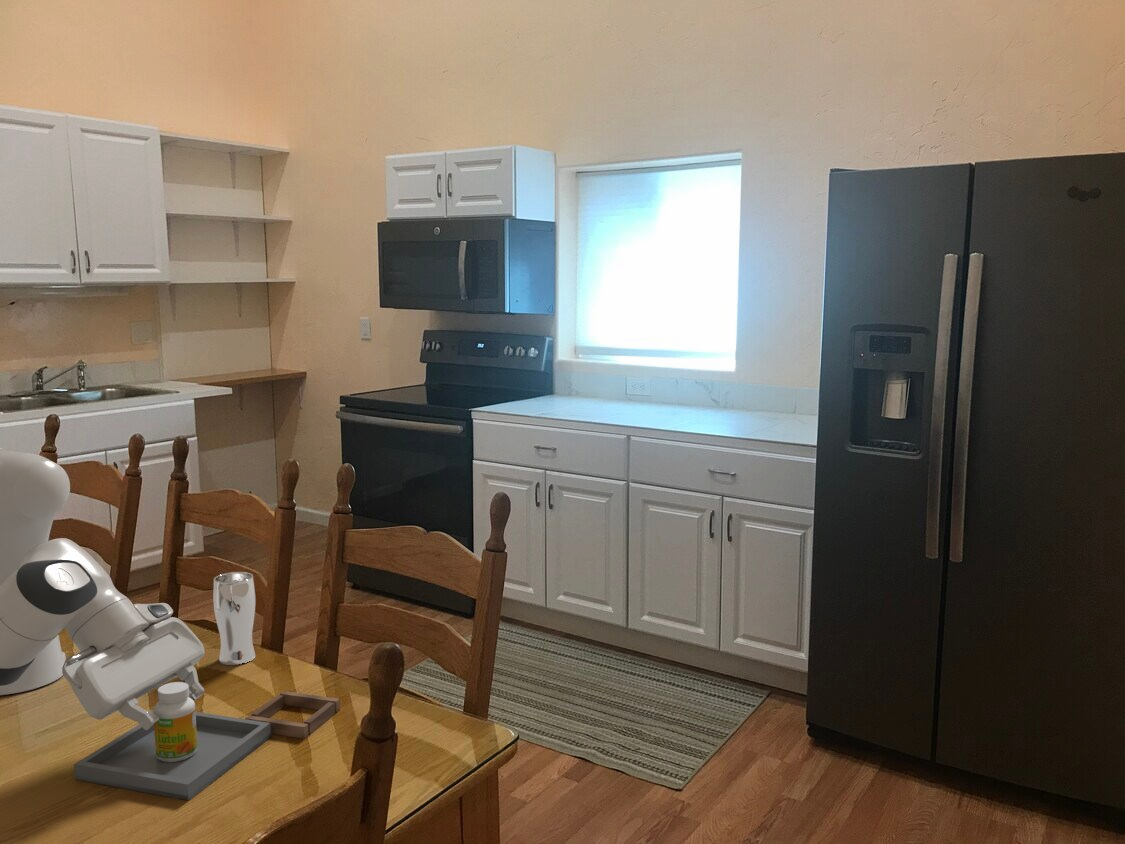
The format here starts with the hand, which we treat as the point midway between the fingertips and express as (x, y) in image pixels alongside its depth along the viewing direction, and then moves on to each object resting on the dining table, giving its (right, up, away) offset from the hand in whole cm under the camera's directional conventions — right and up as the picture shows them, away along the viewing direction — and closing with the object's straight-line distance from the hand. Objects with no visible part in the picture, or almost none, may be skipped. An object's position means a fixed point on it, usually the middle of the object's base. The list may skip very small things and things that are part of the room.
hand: (177, 710), depth 130 cm
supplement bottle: (0, -6, +1) cm, 7 cm away
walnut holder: (+13, -5, +12) cm, 18 cm away
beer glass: (-4, -2, +36) cm, 36 cm away
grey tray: (0, -7, +1) cm, 7 cm away
